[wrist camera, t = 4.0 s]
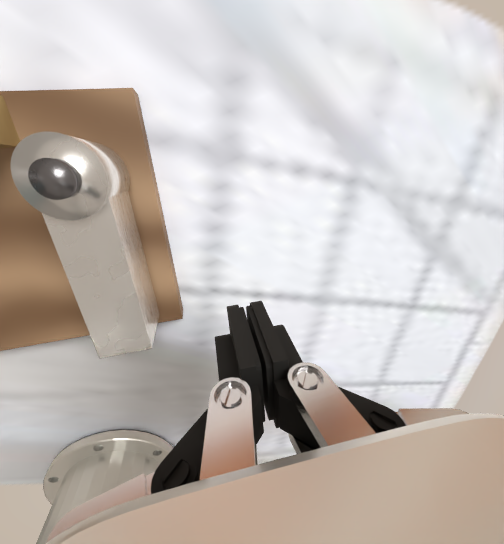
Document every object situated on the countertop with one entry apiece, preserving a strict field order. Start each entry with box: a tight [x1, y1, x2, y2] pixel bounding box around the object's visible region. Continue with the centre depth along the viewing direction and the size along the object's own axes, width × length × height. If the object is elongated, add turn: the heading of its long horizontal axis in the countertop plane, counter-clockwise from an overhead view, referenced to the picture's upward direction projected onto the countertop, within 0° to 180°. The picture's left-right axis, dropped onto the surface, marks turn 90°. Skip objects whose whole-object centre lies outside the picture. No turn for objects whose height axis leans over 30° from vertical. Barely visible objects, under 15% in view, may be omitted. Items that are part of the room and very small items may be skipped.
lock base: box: [0, 88, 183, 351], centre depth 15 cm, size 15×14×6 cm
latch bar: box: [10, 132, 160, 358], centre depth 14 cm, size 12×4×5 cm, turn 5°
